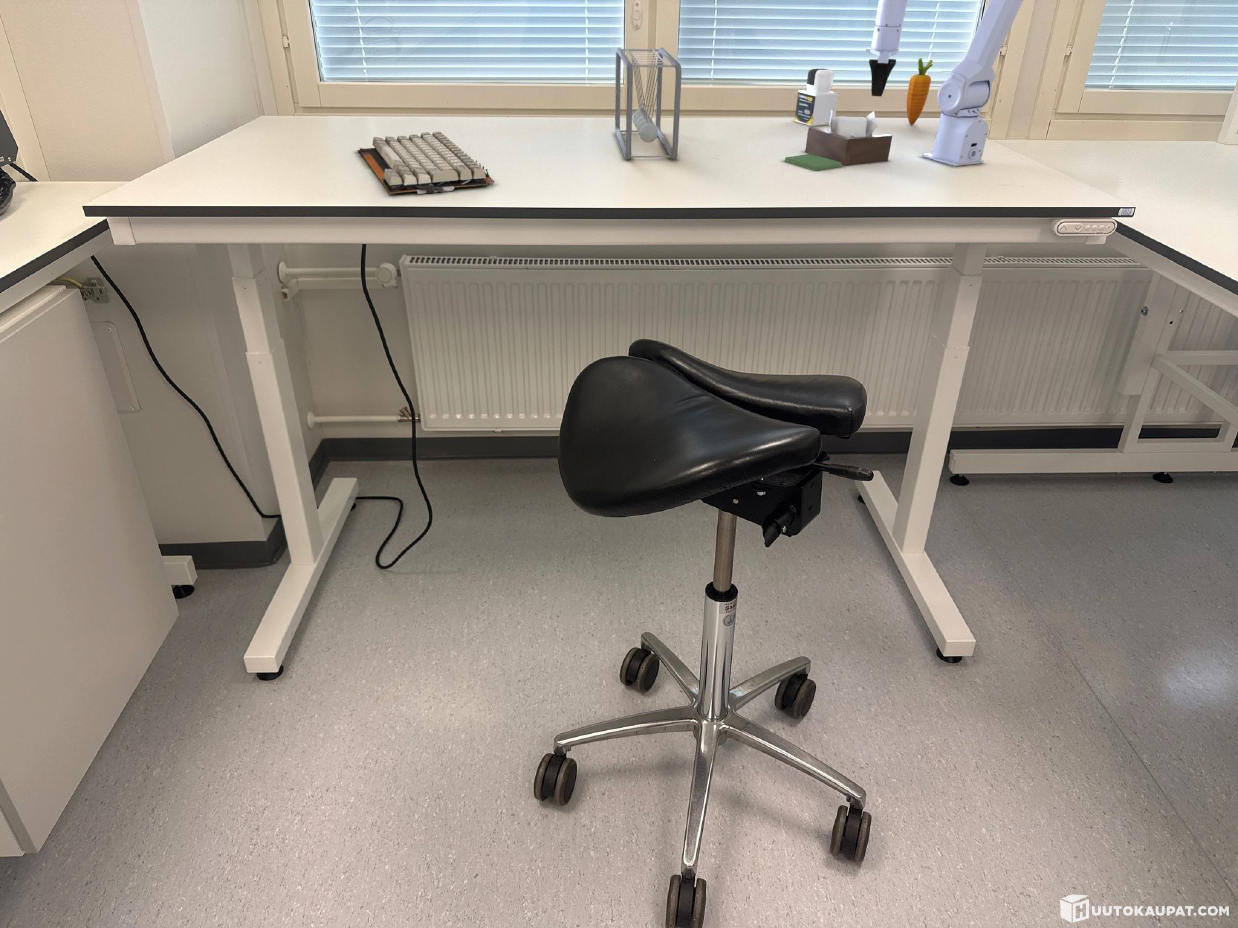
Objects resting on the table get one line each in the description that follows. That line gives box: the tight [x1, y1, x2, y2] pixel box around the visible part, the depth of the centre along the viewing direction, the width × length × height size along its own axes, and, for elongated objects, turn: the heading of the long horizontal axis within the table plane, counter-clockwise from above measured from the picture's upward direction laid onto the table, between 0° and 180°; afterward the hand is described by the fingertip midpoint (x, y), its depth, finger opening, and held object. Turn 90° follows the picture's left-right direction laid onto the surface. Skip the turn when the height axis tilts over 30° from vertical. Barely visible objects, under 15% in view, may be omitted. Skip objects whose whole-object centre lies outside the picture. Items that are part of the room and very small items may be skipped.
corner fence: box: [804, 126, 894, 167], centre depth 170 cm, size 13×11×5 cm
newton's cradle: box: [614, 46, 683, 161], centre depth 172 cm, size 30×10×18 cm, turn 4°
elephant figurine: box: [827, 110, 877, 138], centre depth 170 cm, size 10×12×9 cm
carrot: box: [906, 57, 934, 126], centre depth 197 cm, size 5×5×15 cm
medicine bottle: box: [794, 68, 840, 127], centre depth 198 cm, size 7×7×12 cm
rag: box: [784, 153, 843, 171], centre depth 165 cm, size 9×7×1 cm
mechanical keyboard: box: [356, 131, 495, 195], centre depth 156 cm, size 38×19×3 cm, turn 24°
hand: (876, 96), depth 179 cm, fingers closed
